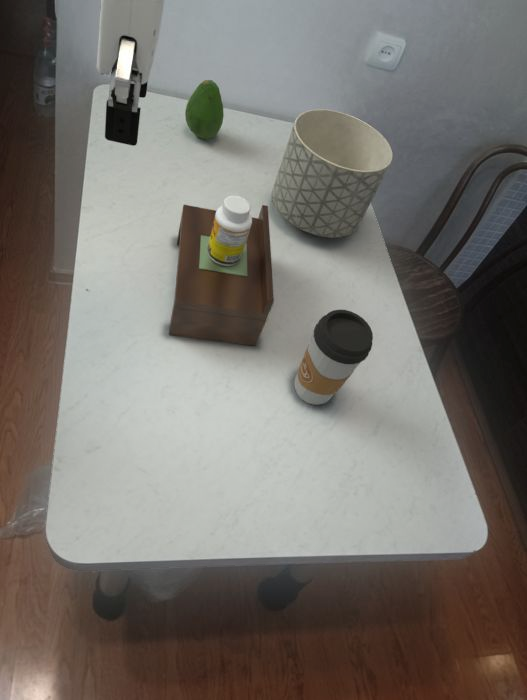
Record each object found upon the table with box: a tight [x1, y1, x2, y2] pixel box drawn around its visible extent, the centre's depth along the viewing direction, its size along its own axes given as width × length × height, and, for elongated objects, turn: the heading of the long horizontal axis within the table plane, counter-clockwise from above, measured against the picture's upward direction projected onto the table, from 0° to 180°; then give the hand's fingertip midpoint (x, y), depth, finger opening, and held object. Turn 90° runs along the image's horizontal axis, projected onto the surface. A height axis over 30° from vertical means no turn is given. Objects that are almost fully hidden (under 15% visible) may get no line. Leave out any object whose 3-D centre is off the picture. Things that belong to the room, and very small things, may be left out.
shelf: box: [168, 204, 275, 347], centre depth 88 cm, size 14×22×11 cm, turn 2°
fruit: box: [184, 79, 225, 140], centre depth 114 cm, size 8×8×12 cm
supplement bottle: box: [208, 195, 252, 266], centre depth 82 cm, size 6×6×10 cm
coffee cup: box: [293, 309, 374, 406], centre depth 79 cm, size 8×8×15 cm
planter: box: [271, 108, 394, 238], centre depth 105 cm, size 19×19×18 cm
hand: (126, 116), depth 59 cm, fingers open, 9 cm apart
